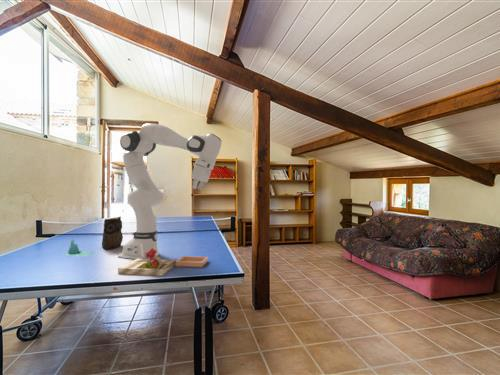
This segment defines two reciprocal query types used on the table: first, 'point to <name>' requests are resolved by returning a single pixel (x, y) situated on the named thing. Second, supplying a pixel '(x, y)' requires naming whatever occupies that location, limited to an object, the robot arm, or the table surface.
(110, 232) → the brown owl figurine
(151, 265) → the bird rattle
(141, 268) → the puzzle board
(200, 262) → the terracotta tray
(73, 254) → the diorama
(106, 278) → the table surface
